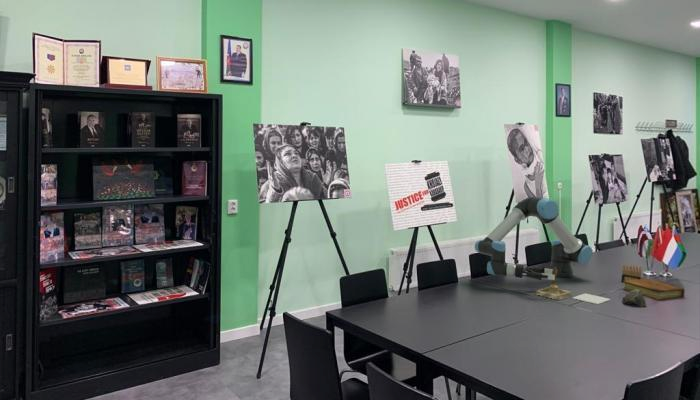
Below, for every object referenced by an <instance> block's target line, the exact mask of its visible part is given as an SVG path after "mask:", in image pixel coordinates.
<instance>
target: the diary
mask: <svg viewBox="0 0 700 400" xmlns="http://www.w3.org/2000/svg"><path fill="white" fill-rule="evenodd" d="M623 282H624V283H623V284H624V288H623V289H622V290H623V291H627V292H628V293H629V292H630V291H634V290H635V289H638V290H640V292H641V293H642V295H643V297H647V298H650V299H653V300H656V301H666V300H674V299H675V300H676V299H682V298H683V297H684V298H685V291H686V290H685V288H683V287H679V286H677V285H673V284H668V283H665V282H661V281H656V280H654V279H649V278H641V279H638V280H627V281H623Z"/></svg>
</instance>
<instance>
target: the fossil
mask: <svg viewBox="0 0 700 400" xmlns="http://www.w3.org/2000/svg"><path fill="white" fill-rule="evenodd" d="M621 302H622V303H623V304H624V305H629V304H631V303H633V304H635V305H637V306H638V307H641V308H642V307H646V305H647V303H646V299H645V296H643V295H642V293H641V292H640V290H638V289H635V290H634V291H630V292H629V291H628V293H627V294H625V296H623V297H622V299H621Z"/></svg>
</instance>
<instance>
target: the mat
mask: <svg viewBox="0 0 700 400" xmlns="http://www.w3.org/2000/svg"><path fill="white" fill-rule="evenodd" d="M572 298H573V300H576V299H577V301H580V300H581V302H586V303H590V304H594V305H602V304H605V303H606V302H609V301H611V300H612V299H611V298H607V297H603V296H599V295H594V294H589V293H582V294H579V295H576V296H573V297H572Z"/></svg>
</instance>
